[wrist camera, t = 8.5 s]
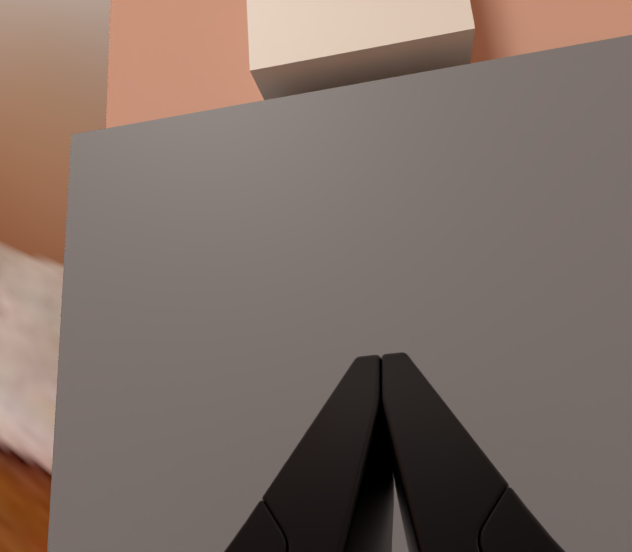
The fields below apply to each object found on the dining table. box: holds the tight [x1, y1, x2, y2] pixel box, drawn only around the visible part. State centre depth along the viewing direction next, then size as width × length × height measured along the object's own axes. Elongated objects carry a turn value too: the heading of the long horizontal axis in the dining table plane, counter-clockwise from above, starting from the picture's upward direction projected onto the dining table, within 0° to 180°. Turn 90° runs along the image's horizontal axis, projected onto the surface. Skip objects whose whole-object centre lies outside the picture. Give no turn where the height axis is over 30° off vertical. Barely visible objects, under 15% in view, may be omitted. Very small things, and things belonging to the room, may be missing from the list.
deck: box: [47, 35, 632, 552], centre depth 17 cm, size 14×20×4 cm
